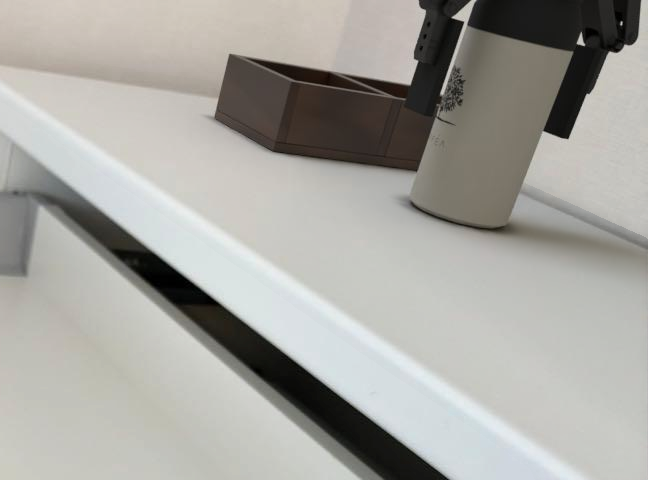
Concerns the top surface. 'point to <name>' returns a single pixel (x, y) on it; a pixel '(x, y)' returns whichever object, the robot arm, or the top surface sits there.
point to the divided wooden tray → (322, 113)
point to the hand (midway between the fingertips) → (487, 124)
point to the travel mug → (495, 108)
